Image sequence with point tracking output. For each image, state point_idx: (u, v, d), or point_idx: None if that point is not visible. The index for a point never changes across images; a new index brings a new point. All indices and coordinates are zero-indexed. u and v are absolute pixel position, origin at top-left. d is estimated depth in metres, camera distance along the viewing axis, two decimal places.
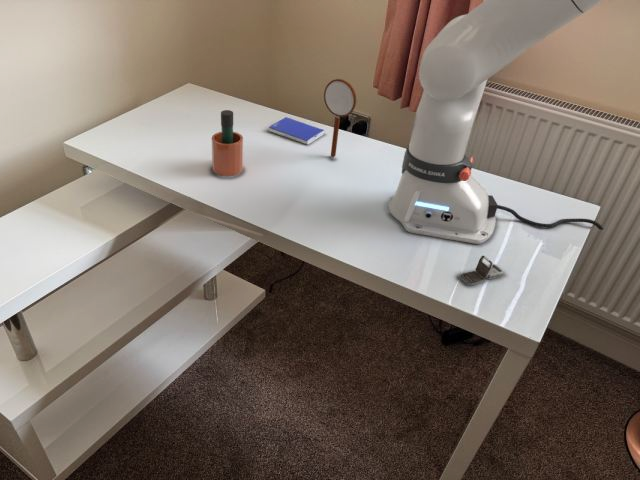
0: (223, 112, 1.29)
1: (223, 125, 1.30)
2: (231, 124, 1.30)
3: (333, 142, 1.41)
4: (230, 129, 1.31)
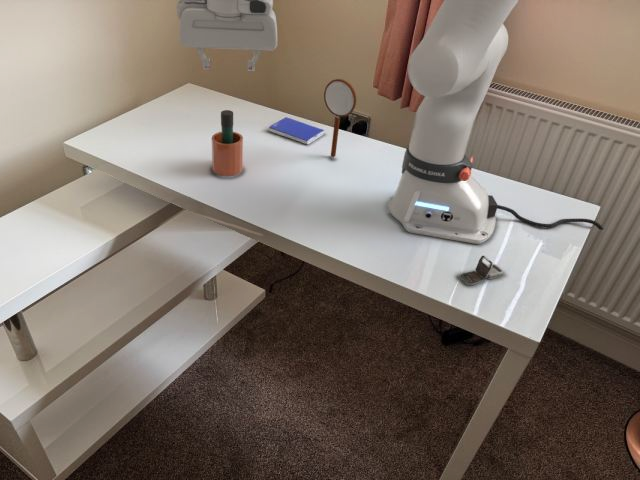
0: (223, 112, 1.29)
1: (223, 125, 1.30)
2: (231, 124, 1.30)
3: (333, 142, 1.41)
4: (230, 129, 1.31)
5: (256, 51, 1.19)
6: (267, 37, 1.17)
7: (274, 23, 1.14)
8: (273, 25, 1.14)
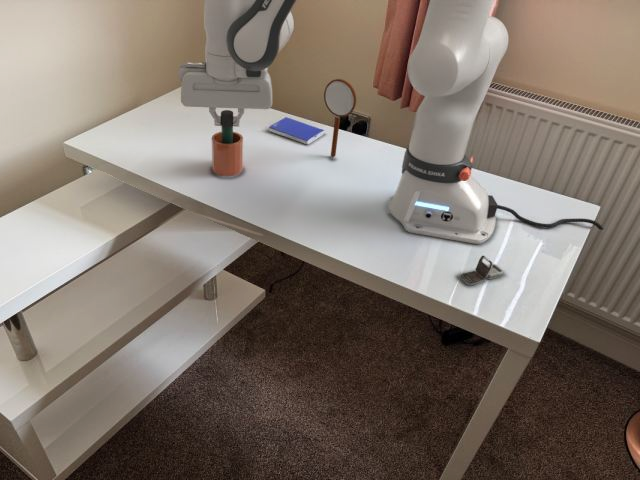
0: (223, 112, 1.29)
1: (223, 125, 1.30)
2: (231, 124, 1.30)
3: (333, 142, 1.41)
4: (230, 129, 1.31)
5: (240, 109, 1.27)
6: (262, 98, 1.25)
7: (269, 85, 1.22)
8: (268, 87, 1.23)
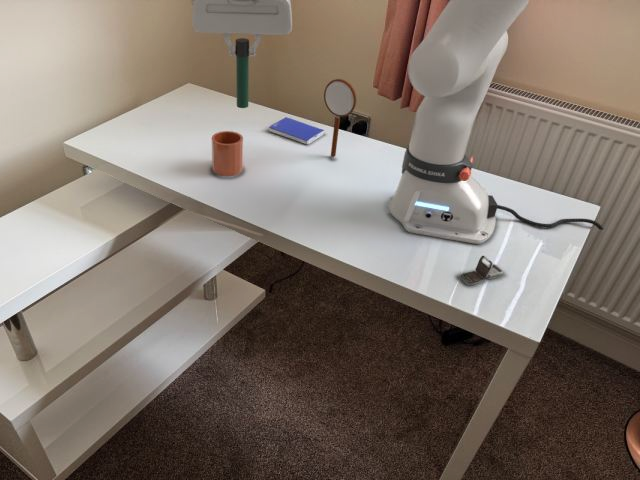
0: (238, 40, 1.19)
1: (238, 54, 1.19)
2: (247, 53, 1.20)
3: (333, 142, 1.41)
4: (246, 59, 1.20)
5: (257, 35, 1.17)
6: (281, 21, 1.14)
7: (289, 6, 1.12)
8: (288, 8, 1.12)
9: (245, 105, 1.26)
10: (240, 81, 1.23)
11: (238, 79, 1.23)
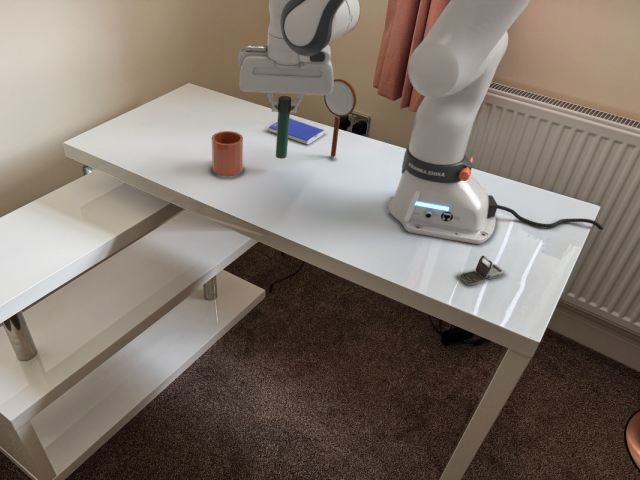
0: (281, 98, 1.26)
1: (280, 111, 1.27)
2: (289, 110, 1.27)
3: (333, 142, 1.41)
4: (287, 115, 1.28)
5: (300, 95, 1.24)
6: (323, 83, 1.22)
7: (331, 71, 1.19)
8: (330, 72, 1.20)
9: (284, 156, 1.34)
10: (280, 135, 1.30)
11: (278, 133, 1.30)
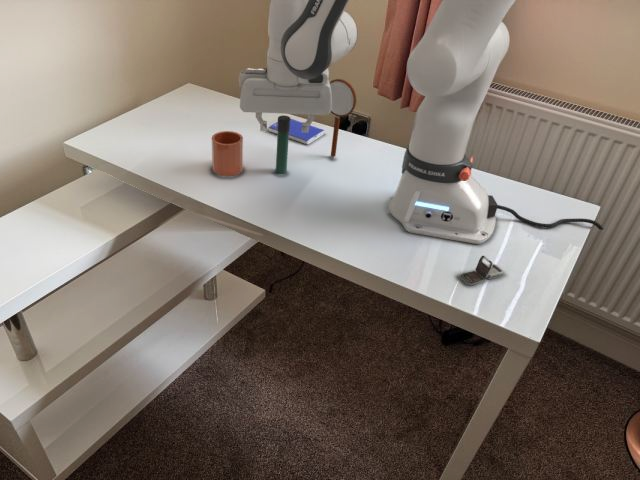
0: (280, 117, 1.29)
1: (280, 130, 1.30)
2: (288, 129, 1.30)
3: (333, 142, 1.41)
4: (286, 134, 1.30)
5: (311, 115, 1.27)
6: (322, 104, 1.24)
7: (330, 91, 1.22)
8: (329, 93, 1.22)
9: (283, 173, 1.37)
10: (280, 153, 1.33)
11: (278, 151, 1.33)
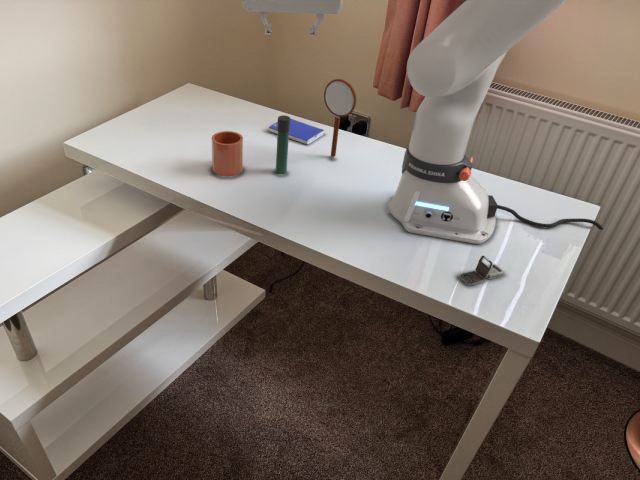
0: (280, 117, 1.29)
1: (280, 130, 1.30)
2: (288, 129, 1.30)
3: (333, 142, 1.41)
4: (286, 134, 1.30)
5: (320, 15, 1.17)
6: (332, 0, 1.15)
7: None
8: None
9: (283, 173, 1.37)
10: (280, 153, 1.33)
11: (278, 151, 1.33)
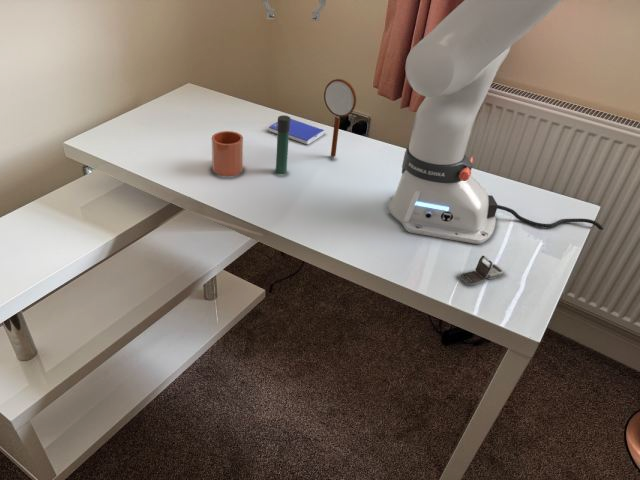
0: (280, 117, 1.29)
1: (280, 130, 1.30)
2: (288, 129, 1.30)
3: (333, 142, 1.41)
4: (286, 134, 1.30)
5: None
6: None
7: None
8: None
9: (283, 173, 1.37)
10: (280, 153, 1.33)
11: (278, 151, 1.33)
